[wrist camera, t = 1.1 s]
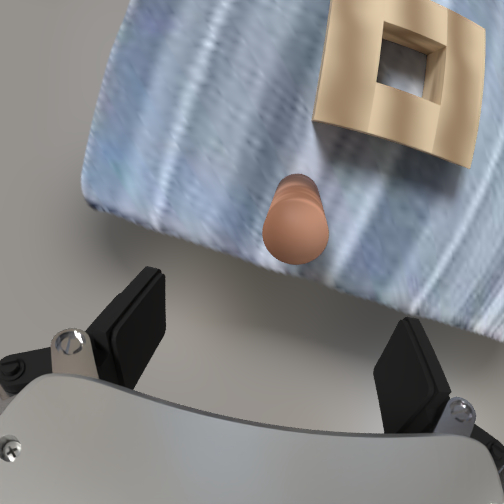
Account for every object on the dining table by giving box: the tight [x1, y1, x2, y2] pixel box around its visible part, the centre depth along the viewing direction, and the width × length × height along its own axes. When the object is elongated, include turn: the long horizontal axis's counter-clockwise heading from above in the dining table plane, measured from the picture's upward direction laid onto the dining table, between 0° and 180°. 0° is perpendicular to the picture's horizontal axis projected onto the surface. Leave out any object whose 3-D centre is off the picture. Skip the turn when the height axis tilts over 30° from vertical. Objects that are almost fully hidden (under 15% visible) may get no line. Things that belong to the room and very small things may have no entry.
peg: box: [262, 174, 329, 265], centre depth 25 cm, size 4×4×12 cm
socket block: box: [312, 0, 485, 169], centre depth 21 cm, size 16×16×5 cm
